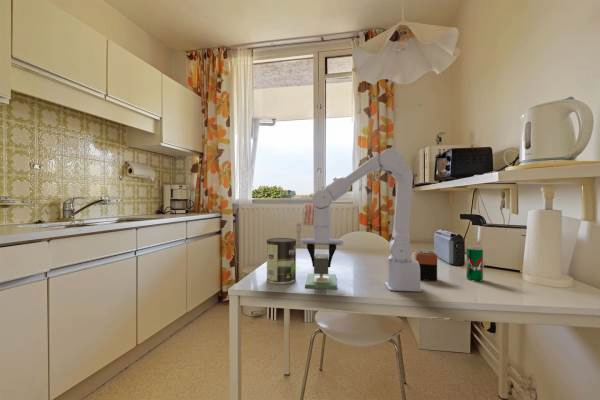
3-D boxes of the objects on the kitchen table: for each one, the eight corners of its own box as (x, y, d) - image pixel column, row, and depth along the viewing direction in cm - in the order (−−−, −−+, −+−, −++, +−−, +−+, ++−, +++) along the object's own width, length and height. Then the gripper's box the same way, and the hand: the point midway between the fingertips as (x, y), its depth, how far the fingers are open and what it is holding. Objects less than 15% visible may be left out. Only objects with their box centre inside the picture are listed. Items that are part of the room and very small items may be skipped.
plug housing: (328, 268, 101) (328, 254, 101) (328, 274, 93) (328, 258, 93) (315, 268, 101) (315, 253, 101) (314, 273, 93) (314, 258, 94)
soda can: (482, 279, 103) (482, 245, 103) (484, 282, 98) (484, 247, 98) (465, 277, 105) (466, 244, 105) (467, 280, 100) (467, 246, 101)
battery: (437, 281, 99) (437, 252, 99) (416, 279, 101) (416, 251, 101) (435, 278, 104) (435, 250, 104) (414, 276, 105) (415, 249, 105)
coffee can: (299, 277, 103) (299, 238, 103) (291, 285, 93) (291, 242, 93) (272, 275, 106) (272, 237, 106) (261, 282, 96) (261, 240, 96)
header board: (335, 277, 104) (335, 267, 104) (336, 289, 90) (336, 277, 90) (308, 276, 105) (308, 266, 105) (305, 287, 91) (305, 276, 91)
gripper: (342, 225, 101) (342, 264, 100) (301, 225, 102) (301, 263, 102) (343, 227, 94) (343, 269, 93) (299, 226, 95) (299, 267, 95)
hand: (321, 266), depth 97 cm, fingers closed on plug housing, 5 cm apart
